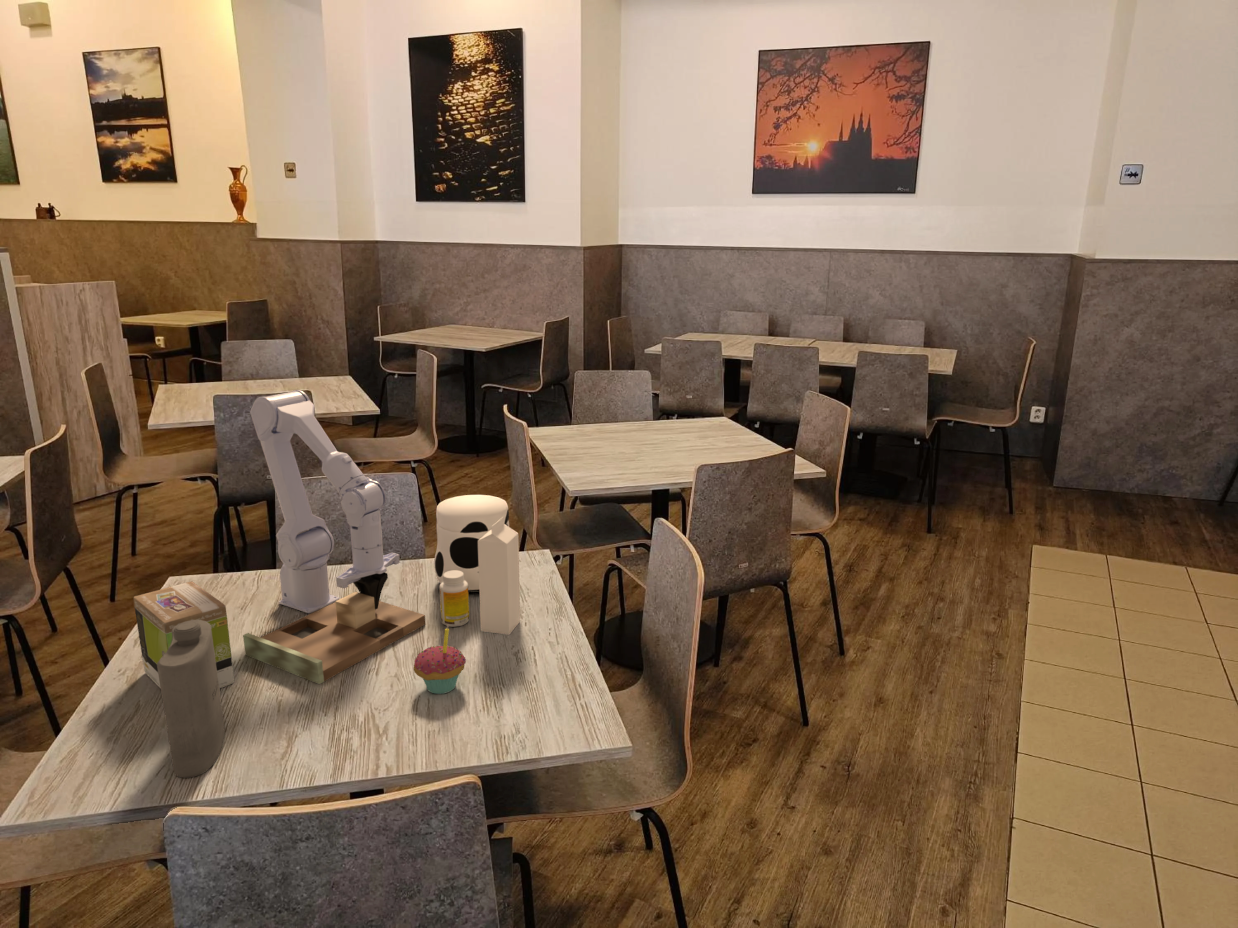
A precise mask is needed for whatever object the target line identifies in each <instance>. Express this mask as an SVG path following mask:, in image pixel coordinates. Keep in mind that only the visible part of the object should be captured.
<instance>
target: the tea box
mask: <svg viewBox="0 0 1238 928" xmlns="http://www.w3.org/2000/svg"><path fill="white" fill-rule="evenodd" d="M133 603H134V605H133V606H134V611H135V617H136V624H137V632H138V637H139V640H138V641H139V645H140V650H141V651H140V652H141V657H142V658H141V659H142V664H143V671H144V673H145V674H146V675H147V676H148V677H149V679H151V680H152V682H154V683H155V685H157V687H158V688H159V689H161V687H160V681H159V675H158V669H157V663H158V661H159V660H160V659H161V658H162V657H163V655H164V654H165V653H166V652H167V650H168V649H169V647H170V644H171V641H172V629H173V628H174V627H175V626H177V625H178V624H180V623H183V622H186V621H191V620H203V621H206V622H208V623H209V624H210V626H211V631H212V639H213V646H214V653H215V661H216V668H217V675H218V683H219V689H222V688H224V687H228V686H230V685H231V684H234V683H235V677H234V676H235V673H234V667H233V665H234V664H233V657H232V656H233V655H232V648H231V642H230V631H229V625H228V615H227V607H226V605H225V604H224V603H223V602H222V601H221V600H219V598H218V599H217V598H216V597H215V596H214V595H212V594H211V593H209V592H208V591H207V590H205V589H203V588H202V587H201V586H200V585H198V584H196V582H193V581H187V582H184V583H180V584H176V585H172V586H169V587H165V588H162V589H157V590H153V591H150V592H146V593H142V594H139V595H135V596H133Z"/></svg>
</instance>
